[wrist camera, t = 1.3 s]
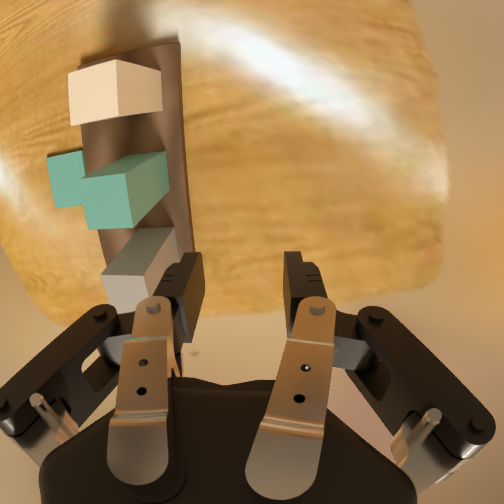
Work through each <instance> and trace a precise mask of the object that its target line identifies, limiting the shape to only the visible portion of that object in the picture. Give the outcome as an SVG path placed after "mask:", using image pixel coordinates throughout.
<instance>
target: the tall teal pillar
mask: <svg viewBox="0 0 504 504" xmlns="http://www.w3.org/2000/svg"><path fill="white" fill-rule="evenodd" d="M78 180H79V186H80V192H81V197H82V202H83V207H84V212H85V216H86V221H87V225H88V230H94V229H116V228H134V227H135V226H136V225H137V223H138V222H139V221H140V220H141V219H142V218H143V217H144V216H145V215H146V214H147V213H148V212H149V211H150V210H151V209H152V208H153V207H154V206H155V205H156V204H157V203H158V202H159V201H160V200H161V199H162V198H163V197H164V195H165V194H166V193H167V192H169V191H170V187H169V177H168V168H167V157H166V151H160V152H150V153H141V154H133V155H128V156H126V157H123V158H121V159H119V160H117V161H115V162H112V163H110V164H108V165H106V166H104V167H102V168H100V169H98V170H96V171H94V172H92V173H90V174H88V175H86V176H84V177H82V178H80V179H78Z"/></svg>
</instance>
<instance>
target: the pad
mask: <svg viewBox="0 0 504 504" xmlns="http://www.w3.org/2000/svg"><path fill="white" fill-rule="evenodd" d="M46 160H47V166H48V172H49V178H50V183H51V189H52V194H53V199H54V203H55V208H62V207H71V206H81V205H83V202H82V197H81V192H80V186H79V180H78V179H80V178H82V177H84V176H86V175H87V172H86V165H85V158H84V150H80V151H75V152H70V153H66V154H61V155H56V156H52V157H48V158H46Z"/></svg>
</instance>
